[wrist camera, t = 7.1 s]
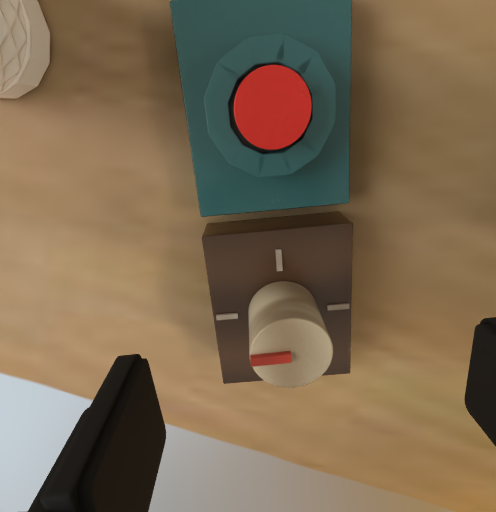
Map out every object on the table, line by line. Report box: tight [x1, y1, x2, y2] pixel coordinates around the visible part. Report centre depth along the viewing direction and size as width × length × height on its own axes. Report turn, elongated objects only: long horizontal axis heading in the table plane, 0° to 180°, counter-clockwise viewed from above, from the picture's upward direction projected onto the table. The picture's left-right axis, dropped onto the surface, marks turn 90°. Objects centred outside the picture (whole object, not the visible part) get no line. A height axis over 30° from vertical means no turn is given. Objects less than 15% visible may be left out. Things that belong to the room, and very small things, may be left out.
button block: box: [170, 0, 352, 217], centre depth 19 cm, size 11×9×4 cm
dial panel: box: [202, 212, 353, 384], centre depth 23 cm, size 11×9×3 cm
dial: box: [248, 281, 333, 388], centre depth 20 cm, size 4×4×5 cm
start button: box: [234, 65, 312, 150], centre depth 16 cm, size 4×4×2 cm
